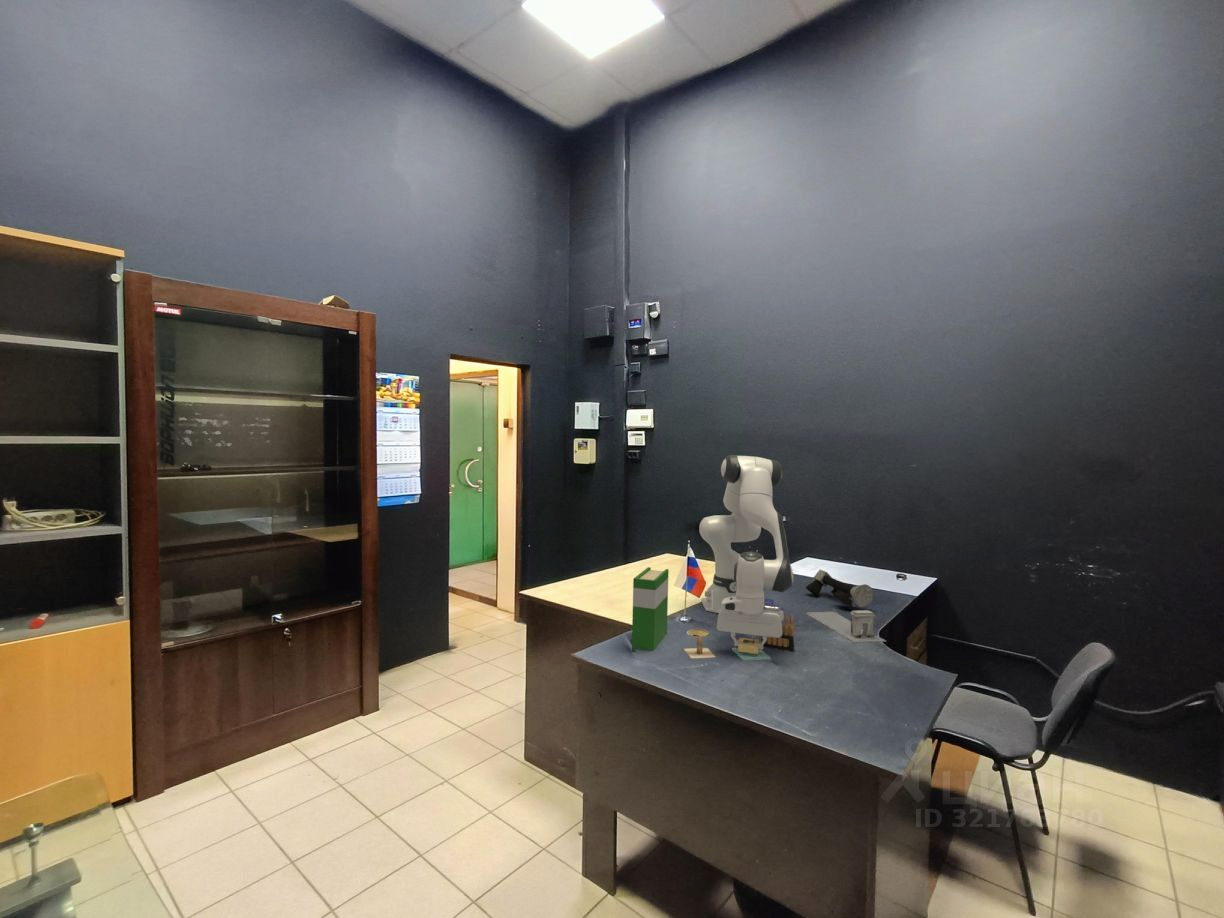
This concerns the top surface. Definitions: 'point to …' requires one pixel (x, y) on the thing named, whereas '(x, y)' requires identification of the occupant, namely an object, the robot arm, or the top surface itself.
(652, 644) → the hardback book
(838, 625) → the triumphal arch model
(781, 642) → the ammunition clip
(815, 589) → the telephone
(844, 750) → the top surface
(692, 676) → the top surface
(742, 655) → the mint green base plate
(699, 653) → the stand
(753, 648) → the tan tray
